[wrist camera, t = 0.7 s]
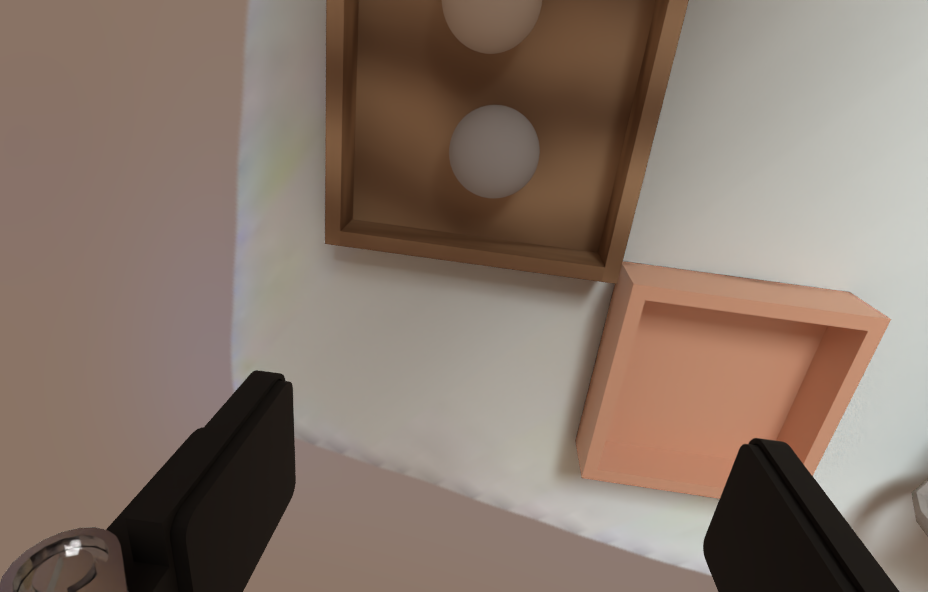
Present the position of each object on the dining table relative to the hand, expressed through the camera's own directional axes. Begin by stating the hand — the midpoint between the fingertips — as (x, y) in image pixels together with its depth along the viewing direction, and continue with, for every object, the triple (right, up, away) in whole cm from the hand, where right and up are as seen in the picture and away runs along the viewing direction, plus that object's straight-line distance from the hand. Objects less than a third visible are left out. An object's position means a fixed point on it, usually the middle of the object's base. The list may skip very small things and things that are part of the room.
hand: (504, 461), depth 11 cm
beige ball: (+1, +17, +14) cm, 22 cm away
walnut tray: (+1, +14, +16) cm, 21 cm away
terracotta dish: (+14, -1, +22) cm, 26 cm away
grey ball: (+1, +11, +17) cm, 20 cm away
